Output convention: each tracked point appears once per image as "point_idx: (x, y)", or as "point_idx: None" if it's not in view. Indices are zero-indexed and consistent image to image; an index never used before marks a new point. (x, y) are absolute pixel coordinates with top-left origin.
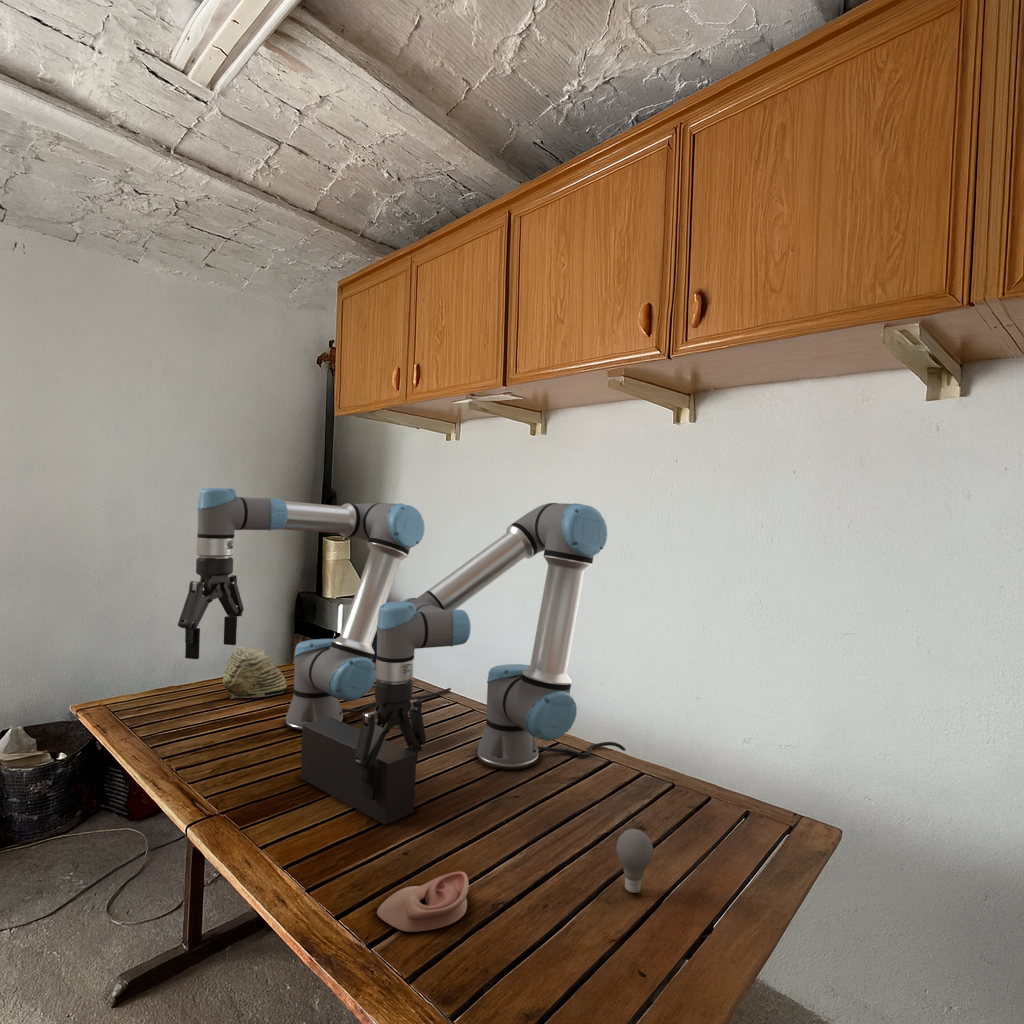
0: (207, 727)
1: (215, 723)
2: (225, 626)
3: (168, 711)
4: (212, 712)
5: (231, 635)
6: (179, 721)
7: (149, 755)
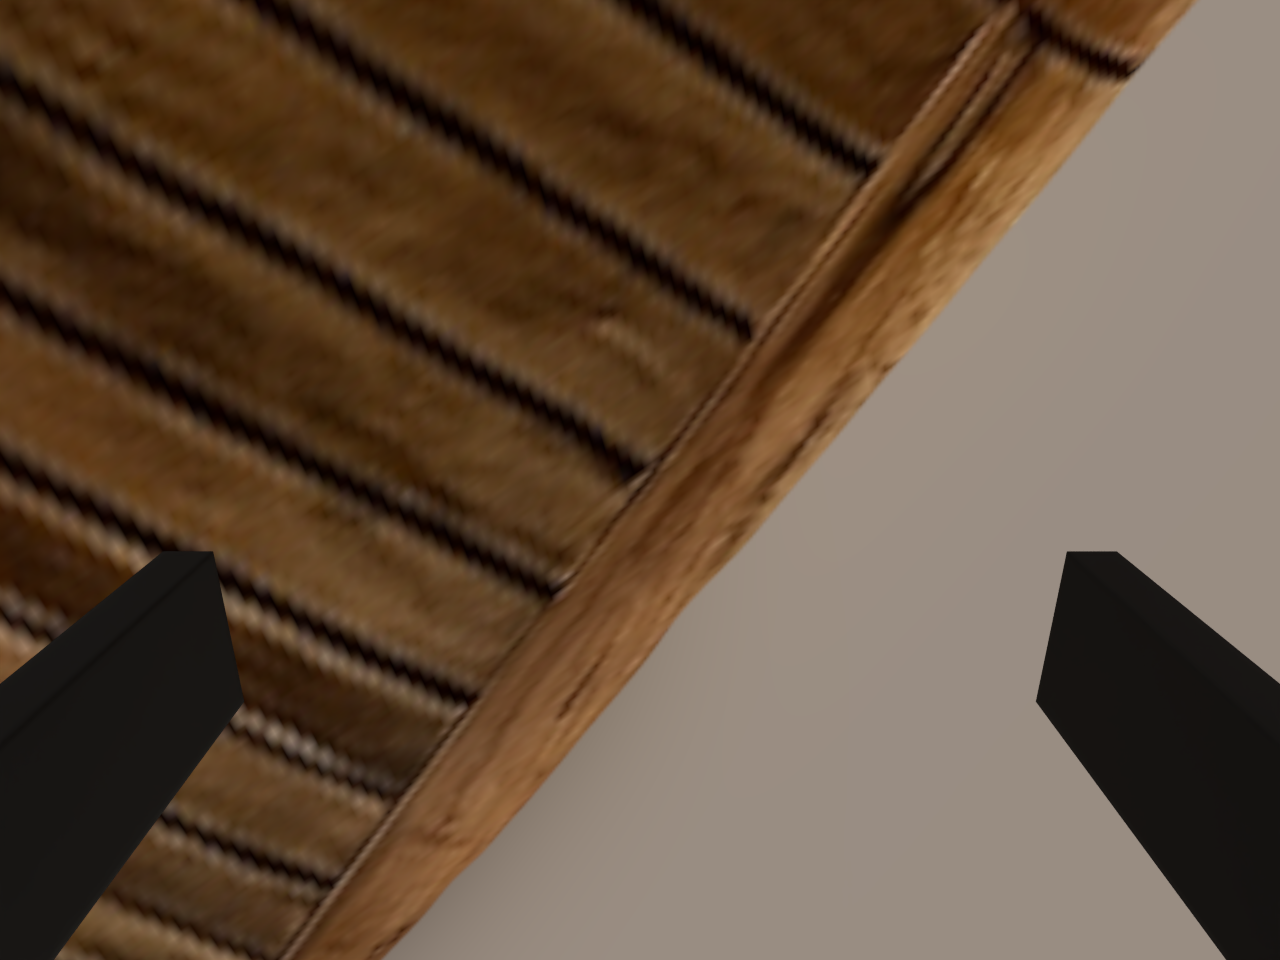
0: None
1: None
2: (71, 905)
3: None
4: None
5: (141, 680)
6: None
7: (542, 659)
